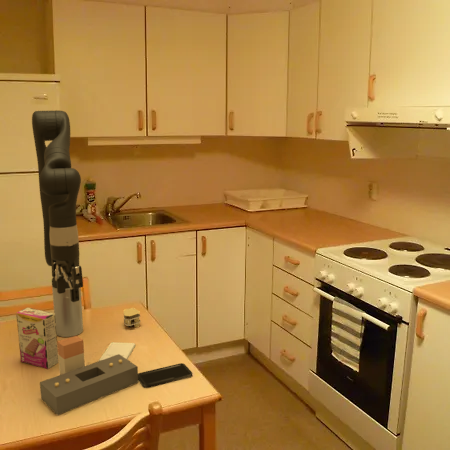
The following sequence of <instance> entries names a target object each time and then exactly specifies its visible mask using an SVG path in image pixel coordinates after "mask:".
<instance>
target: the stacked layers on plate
mask: <svg viewBox="0 0 450 450" xmlns="http://www.w3.org/2000/svg"><path fill="white" fill-rule="evenodd" d="M140 317H141V311H140V310H138V309H137V308H135V307H131V308H130V307H129V308H125V309H123V324H124V325H125V326H127V327H132V326H133V327H134V328H139V327H140V326H141V325H140V323H141V319H140Z"/></svg>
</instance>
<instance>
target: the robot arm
mask: <svg viewBox="0 0 450 450" xmlns="http://www.w3.org/2000/svg"><path fill="white" fill-rule="evenodd" d="M31 126H32V133H33V139H34V140H33V141H34V147H35V153H36V158H37V159H36V160H37V169H38V170H37V171H38V184H39V198H40V202H41V203H40V204H41V211H42V213H41V214H42V221H43V238H44V240H43V242H44V244H43V245H44V246H43V247H44V259H45V262H46V264H47V266H48V267H51V276H52V278H51V287H52V289H51V291H52V301H53V302H52V303H53V313H54V314H55V322H56V335H57V336H58V337H63V338H70V337H74V336H78V335H81V333H83V331H84V325H83V323H84V322H83V318H84V317H83V306H82V305H83V304H82V290H81V288H83V287H84V280H83V270H82V266H81V265H80V241H79V240H80V239H79V230H78V225H77V224H78V222H77V201H78V197H79V192H80V188H81V184H82V183H81V182H82V178H81V174H80V172H79V171H78V170H77V169H76V168H74V167H73V168H72V160H71V154H70V145H71V122H70V118H69V115H68V113H67V112H66V111H64V110H57V109H56V110H35V111H34V112H33V113H32V115H31ZM50 141H51V142H50ZM46 142H49V143H48V145H46Z"/></svg>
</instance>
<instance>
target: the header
mask: <svg viewBox="0 0 450 450" xmlns="http://www.w3.org/2000/svg"><path fill="white" fill-rule="evenodd" d="M138 373H139V370H138V366H137V365H136V364H135V363H133V362H131V361H130V360H129V359H128V360H127V359H126V358H124V357H123V356H121V355H119V354H118V355H115V356H112V357H110V358H107V359H104V360H101V361H99V360H98V361H95V362H93V363H90V364H87V365H85V366H84V367H81V368H78V369H76V370H73V371H70V372H67V373H64V374H61V375H60V374H59V375H56V376H53V377H51V378H48V379H45V380H42V381H40V382H39V389H40V399H41V401H42V402H44V403H45V404H46V406H48V408H49V409H51V410H52V412H54V414H55V415H57V416H60V415H62V414H64V413H67V412H70V411H71V410H73V409H77V408H79V407H81V406H84V405H86V404H89V403H91V402H94V401H97V400H99V399H102V398H104V397H106V396H109V395H111V394H113V393H116V392H118V391H121V390H123V389H126V388H129V387H130V386H133V385H135V384H138V383H139V381H138Z"/></svg>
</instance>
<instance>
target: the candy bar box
mask: <svg viewBox="0 0 450 450" xmlns="http://www.w3.org/2000/svg"><path fill="white" fill-rule="evenodd" d="M15 314H16V322H17V334H18V335H17V336H18V345H19V357H20V362H21V363H24V364H28V365H32V366H34V367H38V368H42V369H46V370H49V369H52V367H54V366H56V365H57V364H59V359H58V345H57V341H58V337H57V336H58V335H56V322H55V314H54V312H49V311H45V310H41V309H40V310H39V309H36V308H31V307H26V308H23V309H21V310H18V311H17V312H16V313H15Z"/></svg>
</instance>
